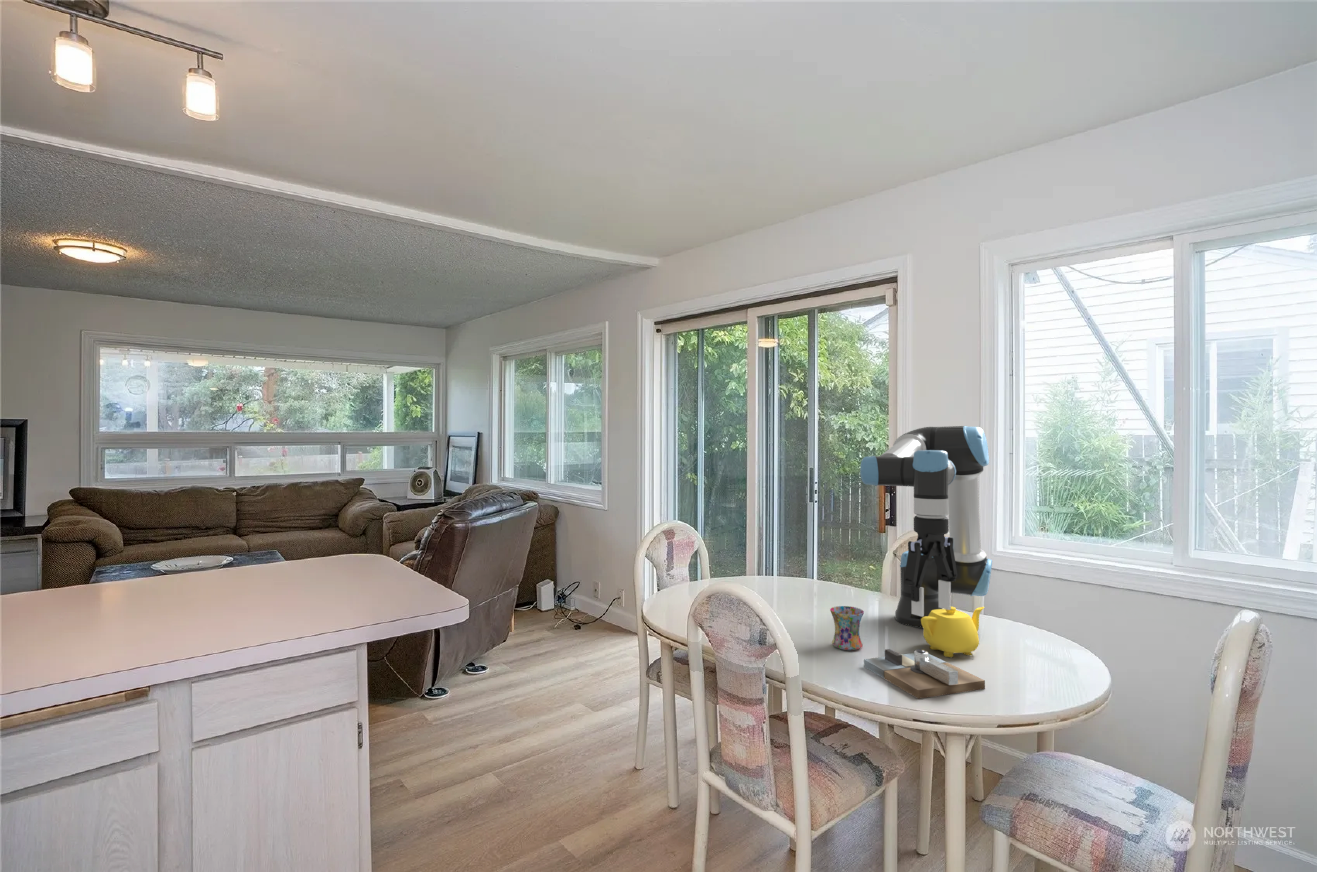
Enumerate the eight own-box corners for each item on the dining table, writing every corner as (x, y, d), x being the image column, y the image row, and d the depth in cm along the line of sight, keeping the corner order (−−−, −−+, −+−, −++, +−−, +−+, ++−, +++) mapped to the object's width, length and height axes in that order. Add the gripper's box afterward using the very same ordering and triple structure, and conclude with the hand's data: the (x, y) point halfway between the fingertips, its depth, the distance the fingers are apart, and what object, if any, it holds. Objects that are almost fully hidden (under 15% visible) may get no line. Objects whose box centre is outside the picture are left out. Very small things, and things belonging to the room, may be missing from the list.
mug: (867, 653, 176) (867, 615, 176) (834, 652, 177) (833, 614, 177) (857, 639, 188) (857, 603, 188) (825, 638, 189) (825, 603, 189)
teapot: (1001, 656, 173) (1001, 611, 173) (937, 662, 169) (936, 616, 169) (967, 640, 186) (967, 598, 186) (907, 645, 182) (906, 603, 182)
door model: (924, 658, 171) (924, 642, 171) (984, 688, 151) (984, 670, 151) (864, 666, 166) (863, 649, 166) (918, 698, 146) (918, 679, 146)
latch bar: (911, 666, 159) (911, 648, 159) (922, 664, 160) (922, 647, 160) (947, 685, 147) (947, 666, 147) (959, 683, 148) (959, 665, 148)
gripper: (945, 511, 157) (945, 601, 157) (886, 517, 145) (886, 615, 145) (973, 514, 150) (974, 608, 150) (914, 521, 139) (915, 623, 139)
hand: (931, 611), depth 148 cm, fingers open, 9 cm apart
